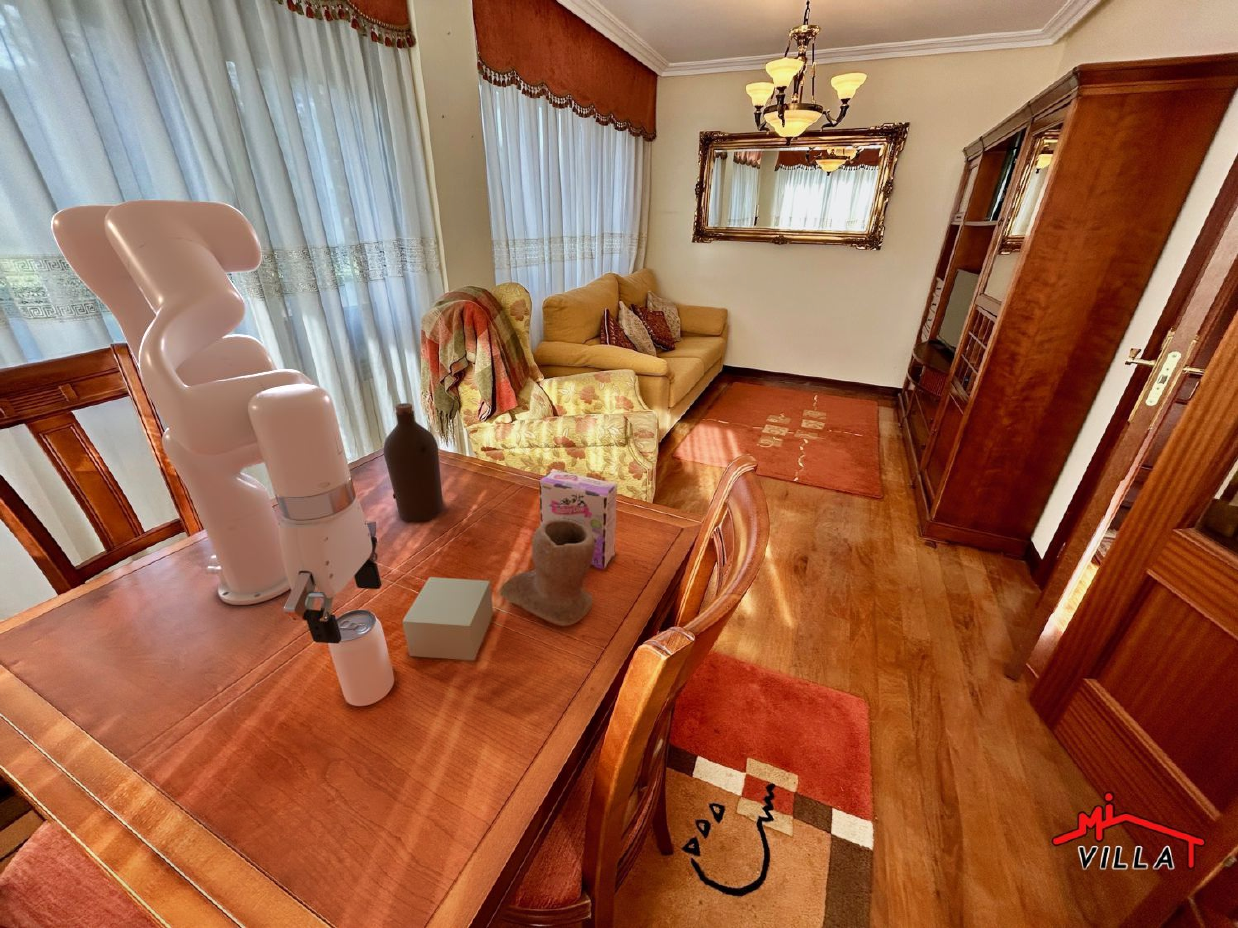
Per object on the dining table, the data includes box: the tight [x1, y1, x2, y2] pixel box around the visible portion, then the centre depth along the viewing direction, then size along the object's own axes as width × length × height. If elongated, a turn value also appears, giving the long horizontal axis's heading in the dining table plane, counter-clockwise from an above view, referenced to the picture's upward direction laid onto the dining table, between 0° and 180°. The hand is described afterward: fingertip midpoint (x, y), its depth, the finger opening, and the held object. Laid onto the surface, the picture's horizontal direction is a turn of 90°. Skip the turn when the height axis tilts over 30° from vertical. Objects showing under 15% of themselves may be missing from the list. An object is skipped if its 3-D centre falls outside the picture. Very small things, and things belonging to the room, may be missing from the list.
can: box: [327, 608, 395, 707], centre depth 68 cm, size 6×6×12 cm
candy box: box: [538, 468, 618, 570], centre depth 96 cm, size 14×6×16 cm, turn 68°
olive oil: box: [383, 402, 444, 523], centre depth 106 cm, size 11×11×25 cm
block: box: [401, 576, 494, 661], centre depth 78 cm, size 10×10×7 cm
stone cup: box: [498, 519, 595, 627], centre depth 84 cm, size 15×12×15 cm
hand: (350, 612), depth 64 cm, fingers open, 9 cm apart
